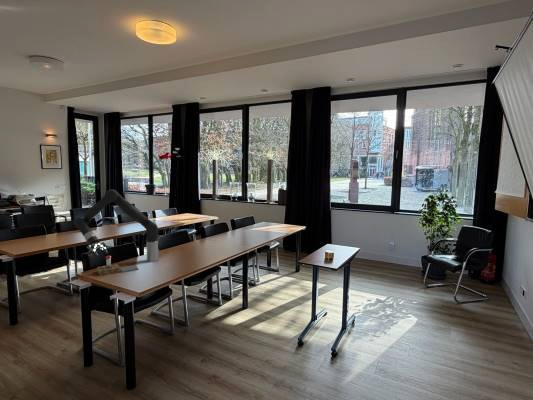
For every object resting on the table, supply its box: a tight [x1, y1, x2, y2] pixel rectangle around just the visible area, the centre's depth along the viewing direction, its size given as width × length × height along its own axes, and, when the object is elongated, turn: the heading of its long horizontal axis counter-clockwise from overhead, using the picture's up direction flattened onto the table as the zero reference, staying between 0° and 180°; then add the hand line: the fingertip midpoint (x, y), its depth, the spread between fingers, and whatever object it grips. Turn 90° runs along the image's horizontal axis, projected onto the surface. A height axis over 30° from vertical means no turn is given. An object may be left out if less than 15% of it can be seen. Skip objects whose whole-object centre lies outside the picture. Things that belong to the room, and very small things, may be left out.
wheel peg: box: [105, 255, 112, 268], centre depth 239 cm, size 4×4×12 cm
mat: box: [119, 264, 139, 273], centre depth 247 cm, size 12×12×1 cm
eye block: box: [96, 263, 121, 276], centre depth 240 cm, size 14×12×4 cm
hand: (102, 254), depth 241 cm, fingers open, 8 cm apart
